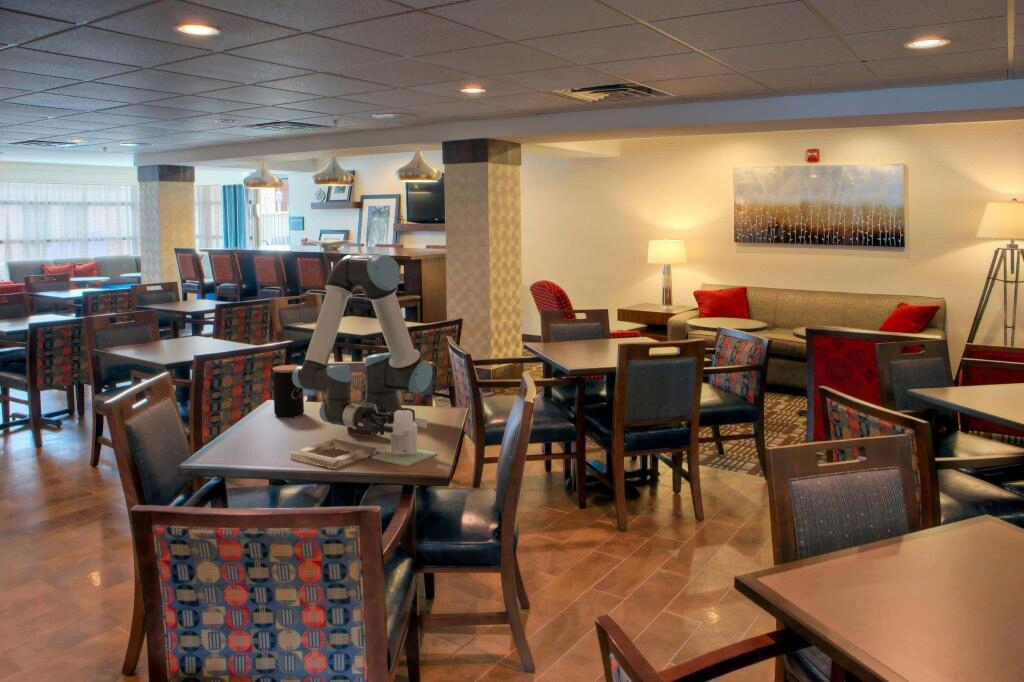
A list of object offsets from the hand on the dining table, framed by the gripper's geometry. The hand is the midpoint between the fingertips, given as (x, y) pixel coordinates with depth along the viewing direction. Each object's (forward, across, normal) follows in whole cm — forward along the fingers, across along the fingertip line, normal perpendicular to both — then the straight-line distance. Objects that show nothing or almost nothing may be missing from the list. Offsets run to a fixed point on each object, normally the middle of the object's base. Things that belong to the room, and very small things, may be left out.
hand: (414, 427), depth 230 cm
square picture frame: (-22, +12, -10) cm, 27 cm away
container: (-4, 0, -8) cm, 9 cm away
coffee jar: (-74, -16, -10) cm, 77 cm away
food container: (-33, -13, -10) cm, 37 cm away
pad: (-4, 0, -10) cm, 11 cm away
